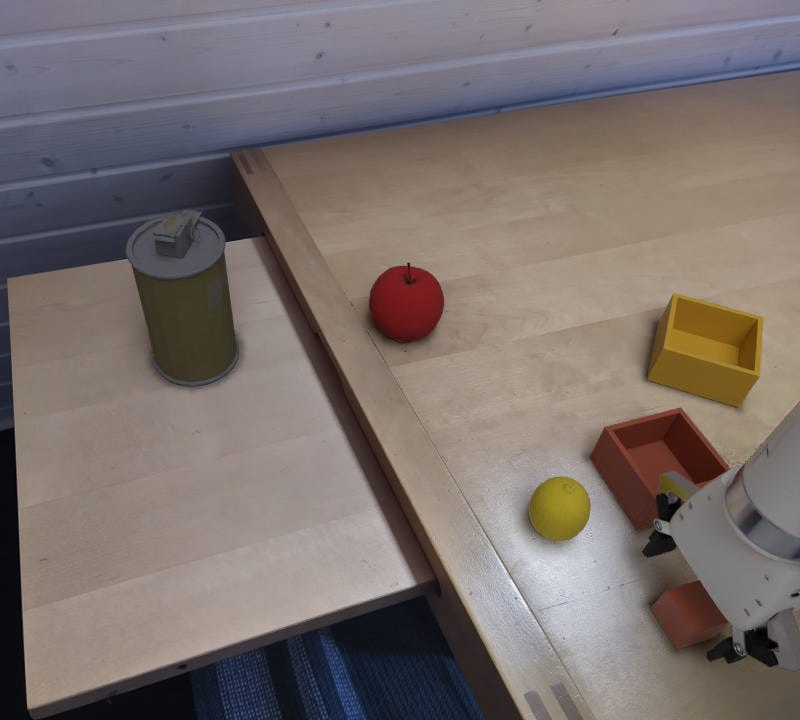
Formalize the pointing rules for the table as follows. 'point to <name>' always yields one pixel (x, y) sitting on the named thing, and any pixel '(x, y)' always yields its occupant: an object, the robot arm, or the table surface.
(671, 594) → the clay block
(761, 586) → the robot arm
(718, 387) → the yellow bin
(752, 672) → the table surface
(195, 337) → the canister
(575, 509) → the lemon
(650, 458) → the clay bin
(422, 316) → the apple
